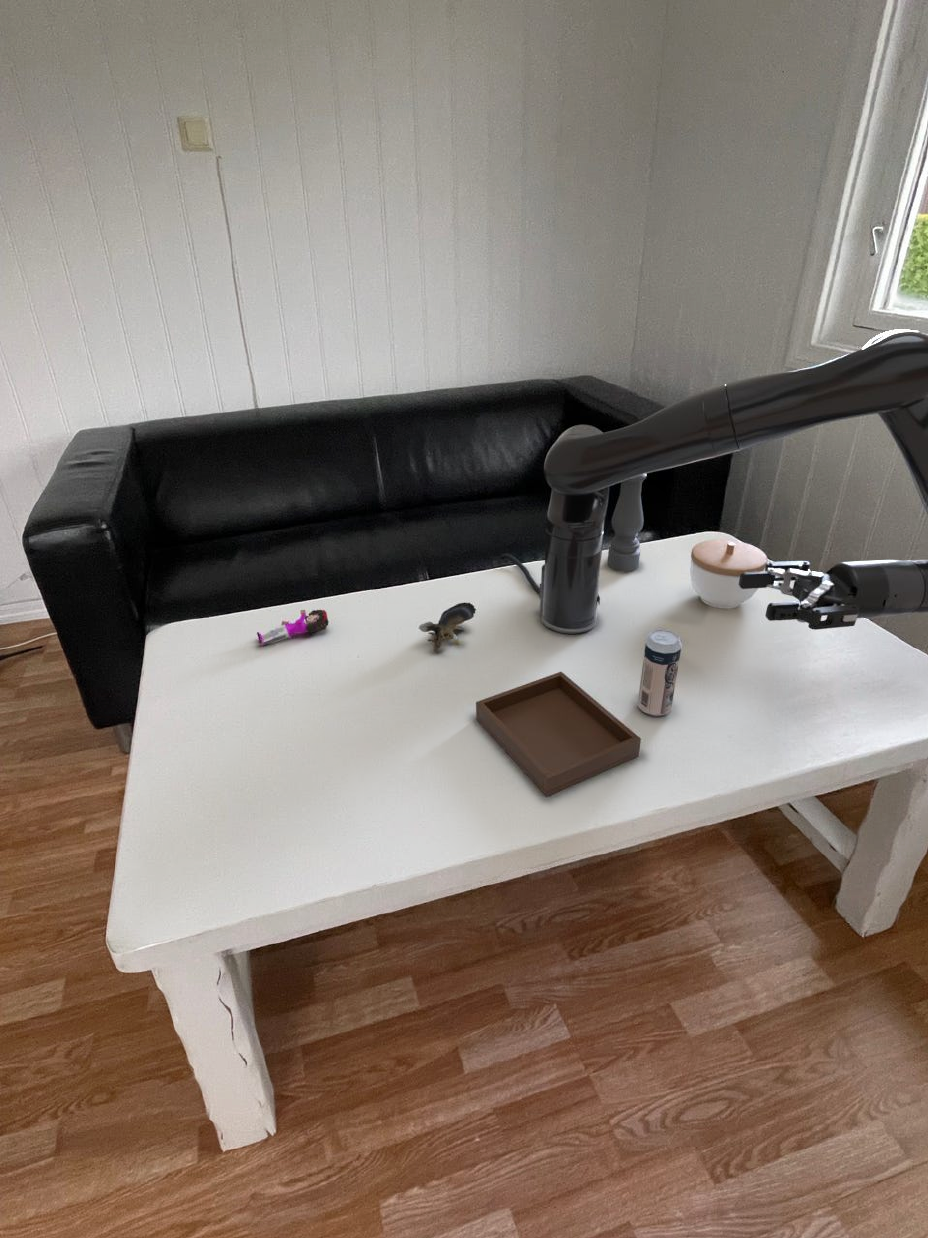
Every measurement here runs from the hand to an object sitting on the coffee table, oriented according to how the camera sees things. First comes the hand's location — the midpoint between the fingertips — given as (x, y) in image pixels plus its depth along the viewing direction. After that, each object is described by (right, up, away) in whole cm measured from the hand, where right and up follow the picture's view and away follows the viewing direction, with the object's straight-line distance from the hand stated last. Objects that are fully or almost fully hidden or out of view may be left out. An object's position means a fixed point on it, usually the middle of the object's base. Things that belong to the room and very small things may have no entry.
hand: (753, 595), depth 92 cm
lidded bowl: (+9, 0, +35) cm, 36 cm away
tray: (-26, -19, +4) cm, 32 cm away
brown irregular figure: (-41, -7, +25) cm, 48 cm away
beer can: (-11, -16, +9) cm, 21 cm away
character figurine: (-67, -6, +28) cm, 73 cm away
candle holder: (-6, +8, +48) cm, 49 cm away
